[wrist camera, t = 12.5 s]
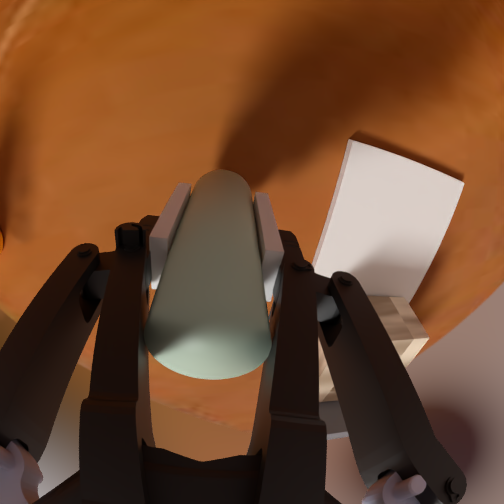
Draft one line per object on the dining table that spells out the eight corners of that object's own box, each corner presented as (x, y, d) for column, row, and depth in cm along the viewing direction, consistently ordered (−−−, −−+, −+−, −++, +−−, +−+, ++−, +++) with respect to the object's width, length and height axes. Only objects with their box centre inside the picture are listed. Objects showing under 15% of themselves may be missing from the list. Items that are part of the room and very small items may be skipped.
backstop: (348, 138, 18) (440, 187, 9) (459, 180, 20) (538, 235, 11) (274, 363, 32) (285, 443, 22) (365, 361, 33) (389, 427, 24)
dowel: (194, 166, 17) (136, 291, 7) (256, 173, 17) (285, 307, 7) (190, 221, 19) (150, 372, 9) (246, 227, 19) (259, 382, 9)
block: (322, 292, 24) (340, 342, 19) (404, 297, 26) (429, 337, 21) (293, 358, 30) (302, 402, 25) (366, 356, 31) (381, 394, 26)
